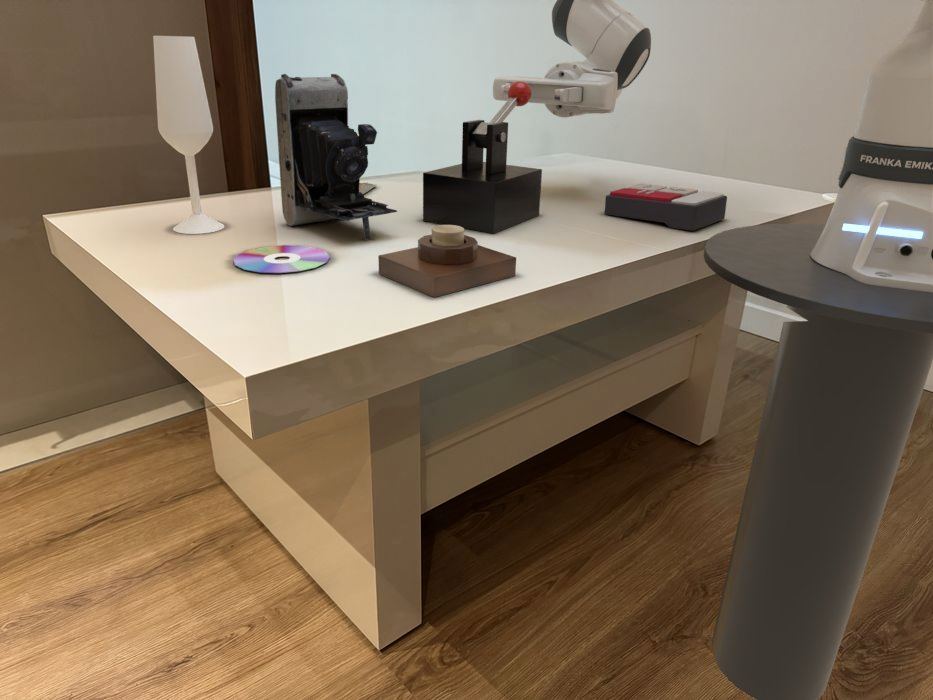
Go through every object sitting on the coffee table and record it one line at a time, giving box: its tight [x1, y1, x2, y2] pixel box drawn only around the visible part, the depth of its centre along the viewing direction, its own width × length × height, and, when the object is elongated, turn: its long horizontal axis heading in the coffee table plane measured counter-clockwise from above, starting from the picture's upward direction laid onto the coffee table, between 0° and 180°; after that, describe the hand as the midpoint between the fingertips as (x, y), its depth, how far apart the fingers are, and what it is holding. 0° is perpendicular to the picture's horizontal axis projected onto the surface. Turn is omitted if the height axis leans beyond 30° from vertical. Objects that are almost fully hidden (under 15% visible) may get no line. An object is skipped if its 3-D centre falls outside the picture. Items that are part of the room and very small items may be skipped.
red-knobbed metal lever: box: [473, 81, 531, 149], centre depth 104 cm, size 14×4×4 cm, turn 148°
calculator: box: [604, 183, 728, 232], centre depth 108 cm, size 11×4×15 cm
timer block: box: [377, 233, 517, 298], centre depth 79 cm, size 12×10×4 cm
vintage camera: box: [274, 73, 398, 241], centre depth 93 cm, size 10×16×20 cm, turn 42°
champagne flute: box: [152, 35, 225, 235], centre depth 92 cm, size 7×7×24 cm
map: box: [359, 182, 378, 195], centre depth 117 cm, size 5×20×1 cm, turn 168°
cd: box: [232, 244, 331, 274], centre depth 84 cm, size 11×11×1 cm
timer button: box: [431, 224, 465, 246], centre depth 78 cm, size 4×4×2 cm
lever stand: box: [422, 119, 543, 235], centre depth 103 cm, size 14×12×14 cm
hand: (531, 93), depth 109 cm, fingers open, 8 cm apart
